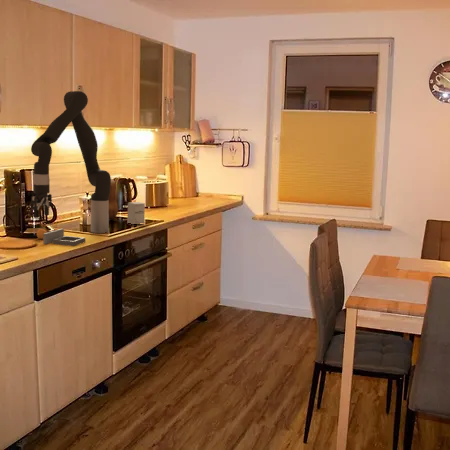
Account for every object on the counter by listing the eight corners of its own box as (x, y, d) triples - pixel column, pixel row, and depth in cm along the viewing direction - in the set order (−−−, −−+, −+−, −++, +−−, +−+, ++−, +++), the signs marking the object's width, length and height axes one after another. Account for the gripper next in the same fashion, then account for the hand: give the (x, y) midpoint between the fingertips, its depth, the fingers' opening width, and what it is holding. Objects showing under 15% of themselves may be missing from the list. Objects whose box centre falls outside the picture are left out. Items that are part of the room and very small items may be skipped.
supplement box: (133, 225, 346) (134, 203, 344) (127, 223, 352) (127, 202, 350) (144, 224, 351) (145, 203, 349) (137, 222, 357) (138, 201, 354)
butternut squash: (90, 221, 354) (91, 179, 350) (101, 218, 367) (101, 177, 363) (112, 223, 351) (112, 180, 346) (122, 220, 363) (122, 178, 359)
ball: (40, 237, 300) (40, 227, 299) (49, 238, 298) (49, 228, 297) (34, 239, 295) (34, 229, 294) (43, 240, 293) (43, 230, 293)
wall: (61, 238, 300) (61, 228, 299) (63, 238, 300) (63, 228, 299) (43, 243, 285) (43, 233, 284) (45, 244, 285) (45, 233, 284)
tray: (65, 239, 297) (65, 235, 296) (85, 242, 294) (85, 237, 293) (53, 243, 286) (53, 239, 286) (73, 246, 283) (73, 241, 283)
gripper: (43, 181, 300) (43, 213, 302) (26, 183, 286) (26, 217, 289) (56, 182, 298) (56, 215, 300) (39, 185, 284) (39, 218, 287)
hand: (41, 216), depth 295 cm, fingers open, 8 cm apart
